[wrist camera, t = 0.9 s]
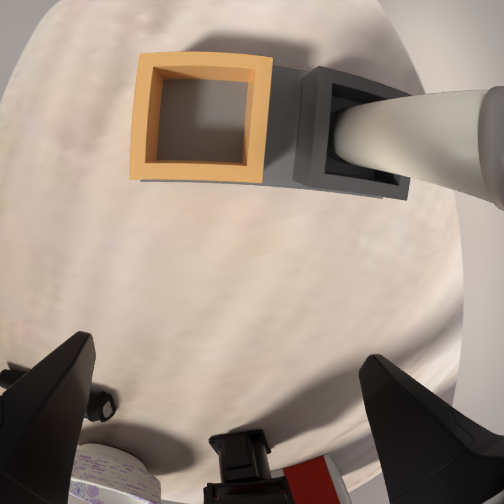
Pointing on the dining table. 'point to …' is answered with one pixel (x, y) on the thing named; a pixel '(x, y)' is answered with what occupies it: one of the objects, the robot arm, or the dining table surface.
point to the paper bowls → (112, 477)
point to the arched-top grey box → (315, 482)
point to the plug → (428, 139)
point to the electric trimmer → (97, 404)
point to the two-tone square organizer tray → (248, 124)
